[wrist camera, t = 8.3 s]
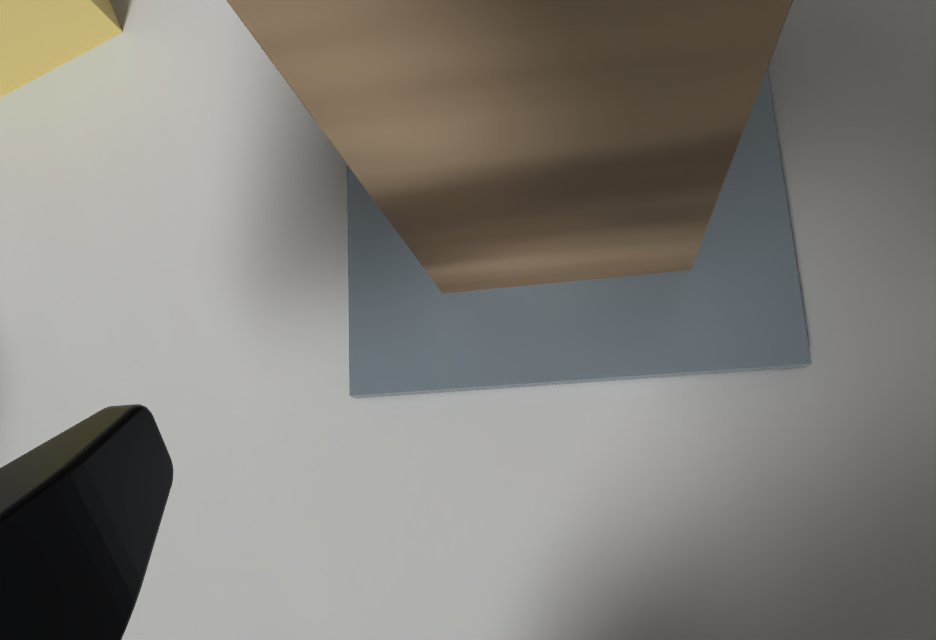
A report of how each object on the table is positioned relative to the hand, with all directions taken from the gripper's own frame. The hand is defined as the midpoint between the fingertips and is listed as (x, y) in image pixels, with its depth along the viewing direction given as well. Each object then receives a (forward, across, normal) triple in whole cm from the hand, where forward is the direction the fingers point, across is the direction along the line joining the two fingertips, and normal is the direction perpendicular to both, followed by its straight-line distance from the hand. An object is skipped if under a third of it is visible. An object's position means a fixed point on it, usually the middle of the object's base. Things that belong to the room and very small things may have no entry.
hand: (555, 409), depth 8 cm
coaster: (+10, 0, +1) cm, 10 cm away
